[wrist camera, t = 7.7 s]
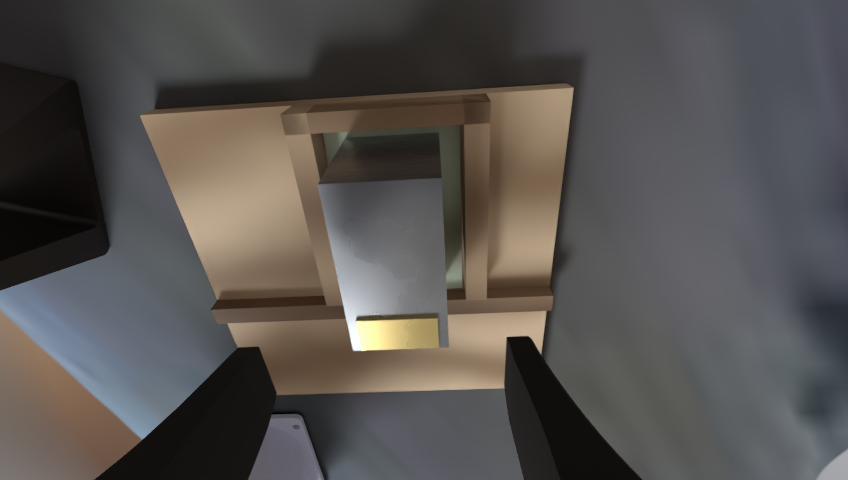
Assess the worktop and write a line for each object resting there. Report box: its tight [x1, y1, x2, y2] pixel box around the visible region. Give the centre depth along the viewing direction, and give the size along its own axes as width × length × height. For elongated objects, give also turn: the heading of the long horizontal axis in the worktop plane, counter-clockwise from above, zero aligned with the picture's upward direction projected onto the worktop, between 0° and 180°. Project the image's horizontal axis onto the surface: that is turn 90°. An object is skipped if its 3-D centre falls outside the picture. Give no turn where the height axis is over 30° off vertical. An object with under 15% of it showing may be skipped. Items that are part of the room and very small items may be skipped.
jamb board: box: [140, 83, 574, 395], centre depth 21 cm, size 18×18×2 cm
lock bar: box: [317, 132, 449, 351], centre depth 17 cm, size 8×4×5 cm, turn 4°
